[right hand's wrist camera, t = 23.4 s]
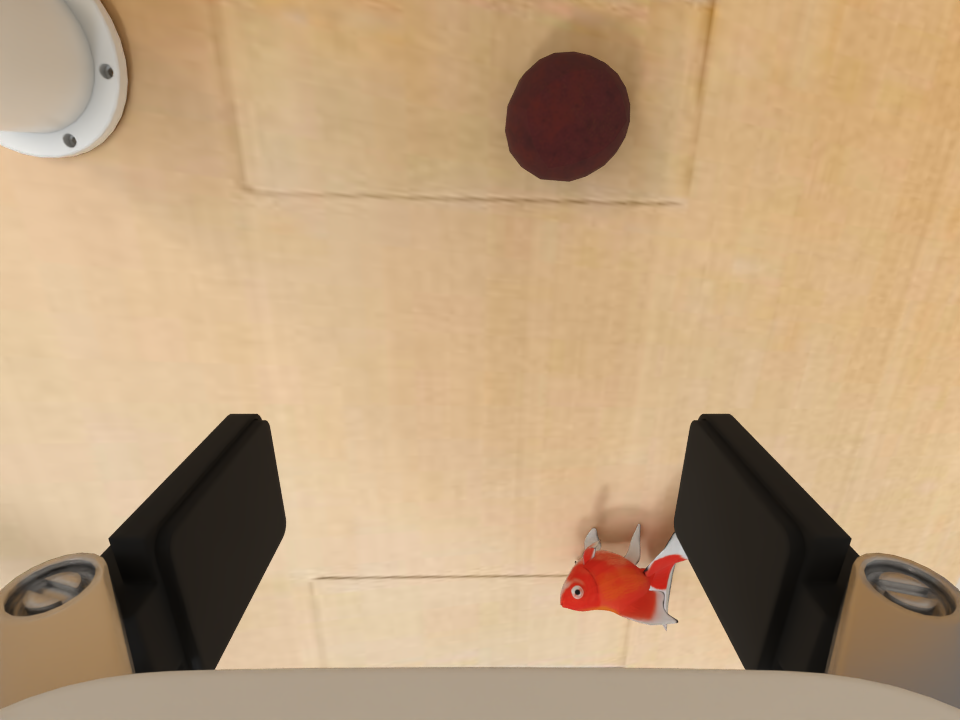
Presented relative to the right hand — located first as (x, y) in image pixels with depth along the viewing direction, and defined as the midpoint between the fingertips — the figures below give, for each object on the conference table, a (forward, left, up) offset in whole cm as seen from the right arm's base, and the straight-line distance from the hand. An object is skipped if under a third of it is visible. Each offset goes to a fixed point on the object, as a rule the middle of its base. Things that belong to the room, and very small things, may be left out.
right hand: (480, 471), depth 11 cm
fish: (+30, +5, -30) cm, 43 cm away
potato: (-7, +8, -30) cm, 31 cm away
